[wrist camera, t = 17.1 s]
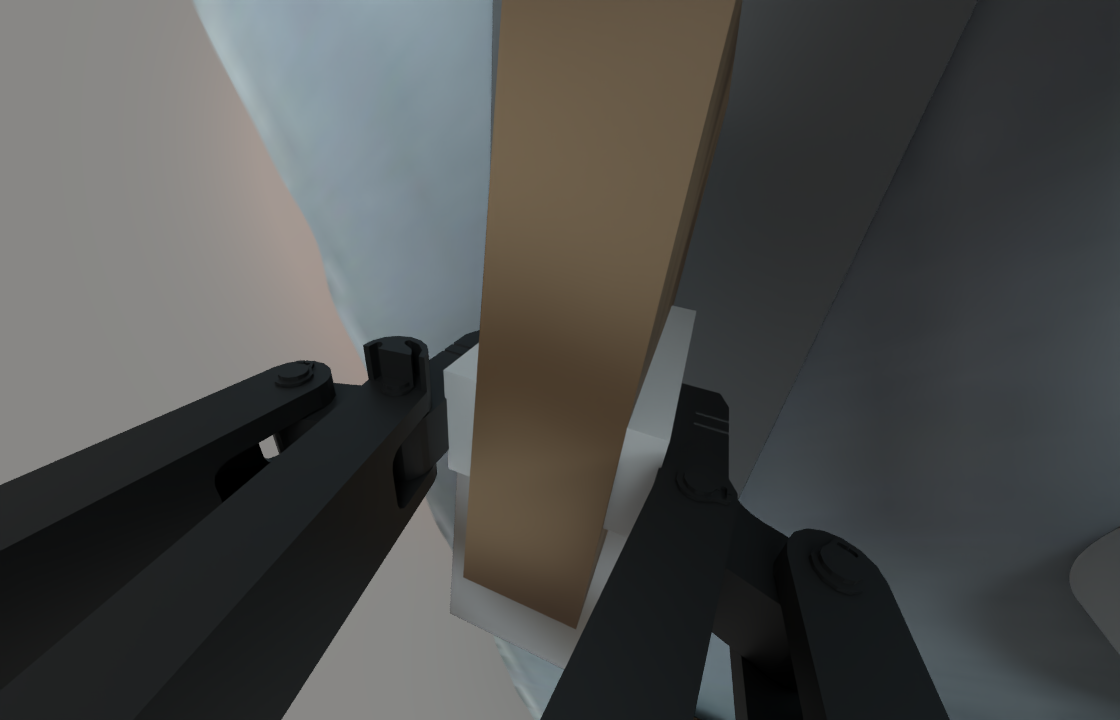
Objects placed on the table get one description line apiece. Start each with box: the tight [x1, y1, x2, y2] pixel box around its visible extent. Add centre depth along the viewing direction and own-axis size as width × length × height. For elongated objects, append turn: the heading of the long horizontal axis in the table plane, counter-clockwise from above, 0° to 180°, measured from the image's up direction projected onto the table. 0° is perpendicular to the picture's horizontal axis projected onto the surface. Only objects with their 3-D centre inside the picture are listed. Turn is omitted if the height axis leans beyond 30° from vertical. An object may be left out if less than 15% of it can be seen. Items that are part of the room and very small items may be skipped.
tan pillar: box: [450, 0, 743, 669], centre depth 12 cm, size 20×8×8 cm, turn 174°
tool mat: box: [490, 0, 978, 499], centre depth 17 cm, size 30×13×1 cm, turn 174°
